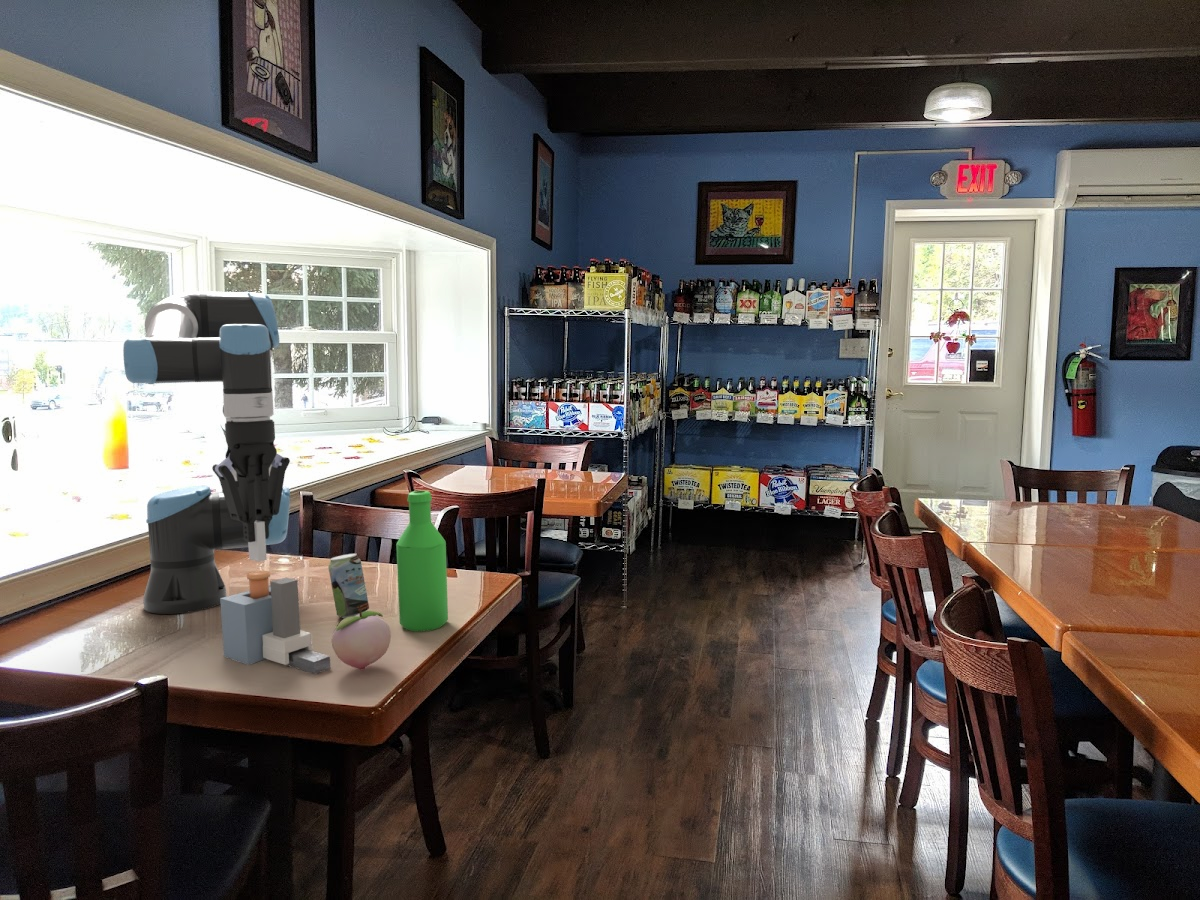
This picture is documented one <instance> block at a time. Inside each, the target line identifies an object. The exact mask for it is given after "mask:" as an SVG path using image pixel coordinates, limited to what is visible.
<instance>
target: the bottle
mask: <svg viewBox="0 0 1200 900" xmlns="http://www.w3.org/2000/svg"><path fill="white" fill-rule="evenodd" d="M432 500H433V498H432V494H431V492H430V491H428V490H414V491H410V492H408V495H407V502H408V510H409V511H408V514H409V518H408V519H409V523H408V524H407V526H406V528H405V529H404V530H403V532H402V534H401V536H400V537H399V539H398V540H397V542H396V566H397V569H396V570H397V591H398V593H397V594H398V616H399V625H400V626H402V627H403V628H404V629H405V630H408V631H411V632H428V631H434V630H436V629H440V628H441V627H443V626H444V625H445V624H446V623H447V621H448V620H449V611H448V610H449V608H448V607H449V606H448V578H447V577H448V574H447V573H448V572H447V546H446V545H447V543H446V540H445V539H444V537H443V536H442V534H441V533H440V532H439V530H438V529H437V528H436V526H435V524H433V522H432V510H431V509H432V508H431V502H432Z"/></svg>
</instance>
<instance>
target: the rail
mask: <svg viewBox="0 0 1200 900" xmlns="http://www.w3.org/2000/svg"><path fill="white" fill-rule="evenodd" d="M286 666H288V667H291V668H294V669H298V670H301V671H303V672H308V673H310V674H312V675H317V674H319V673H321V672H324V671H327V670H330V669H331V656H330V655H326V654H323V653H320V652H317V651H314V650H313V651H311V650H308V649H305V648H302V649H299V650H296V651H293V652H290V653H289V664H287V665H286Z"/></svg>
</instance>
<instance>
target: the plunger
mask: <svg viewBox="0 0 1200 900" xmlns="http://www.w3.org/2000/svg"><path fill="white" fill-rule="evenodd" d="M246 578H247V580H248V583H249V584H248V585H249V591H250V598H253V599H258V598H262V597H266V596H269V586H270V582H269V578H271V572H270V571H268V570H256V571H250V572H249V573H247V574H246Z"/></svg>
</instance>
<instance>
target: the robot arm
mask: <svg viewBox="0 0 1200 900" xmlns="http://www.w3.org/2000/svg"><path fill="white" fill-rule="evenodd" d="M274 307H275V306H274V304H273V302H272V299H271V297H269V295H267V294H266V293H258V292H249V291H243V292H242V291H241V292H240V291H239V292H238V291H237V292H236V291H233V292H232V291H231V292H230V291H229V292H228V291H225V292H224V291H223V292H222V291H187V292H182V293H178V294H174V295H172V296H169V297H166V298H165V299H162V300H161V301H158V302H157V303H156V304H154V305H153V306H151V308H150V309H149V310H148V312H147V314H146V316H145V319H144V329H145V336H140V337H139V338H138V337H137V338H128V339H126V340H125V341H124V343H123V348H122V349H123V350H122V351H123V367H124V373H125V376H126V379H127V380H128V382H130V383H132V384H148V385H153V384H174V383H180V384H181V383H222V387H223V388H222V393H223V394H222V395H223V416H224V418H225V423H224V428H225V429H224V430H225V442H226V445H227V450H226V452H225V459H224V460H222V461H221V462H220V463H219V464H213V466H211V467H212V471H213V472H214V474H215V475H216V477H217V478H218V480H219V484H220V486H221V490H222V491H221V492H212V489H211V488H210V486H208V485H198V486H196V485H195V486H188V487H182V488H181V487H180V488H177V489H172V490H168V491H164V492H162V493H159V494H155V495H154V496H152V497H151V498H150V499H149V500H148V501H147V504H146V505H147V506H146V507H147V508H146V510H147V511H146V513H147V515H146V516H147V519H146V523H147V528H148V543H149V558H150V560H149V561H150V573H149V577H148V581H147V583H146V587H145V591H144V594H143V609H144V611H145V612H147V613H151V614H159V615H174V614H186V613H187V614H188V613H193V612H198V611H202V610H206V609H207V610H208V609H211V608H213V607H216V606H218V605H221V604H220V598H223V597H227V596H228V595H227V587H226V585H225V582H224V581H223V578H222V576H221V573H220V571H219V569H218V566H217V564H216V560H215V551H216V550H229V549H239V548H240V549H241V548H248V559H249V561H254V562H263V561H267V558H268V557H267V546H268V545H270V546H271V545H277V544H280V543H282V542H284V540H285V539H286V538H287V534H288V529H289V527H288V526H289V516H290V505H291V504H290V503H291V501H290V500H291V499H290V497H291V495H290V494H291V490H290V488H289V487H286V486H284V481H285V474H286V470H287V468H288V467H289V464H290V462H291V460H290V458H289V457H285V456H282V455H280V454H279V453H277V451H278V450H277V448H276V447H275V442H274V441H275V439H276V431H275V427H276V426H275V421H274V420H273V419H271V417H273V416H274V397H273V386H272V382H273V381H272V357H273V355H274V349H275V348H277V347H279V346H280V335H279V334H280V333H279V328H278V327H279V326H278V321H277V315H276V312H275V308H274Z"/></svg>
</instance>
